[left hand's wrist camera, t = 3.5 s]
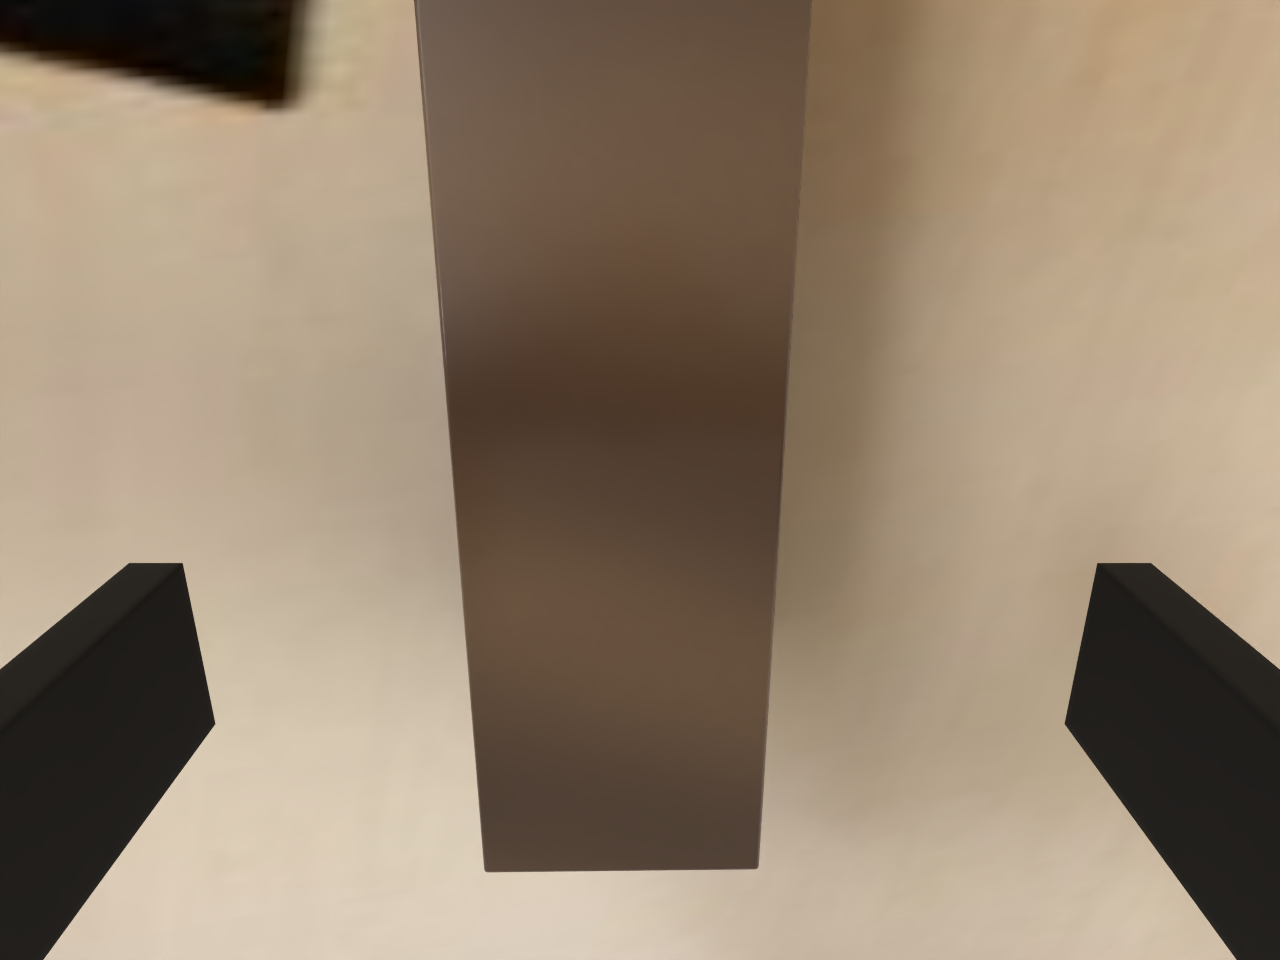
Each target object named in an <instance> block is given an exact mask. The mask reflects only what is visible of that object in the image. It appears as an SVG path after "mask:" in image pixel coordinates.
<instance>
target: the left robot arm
mask: <svg viewBox="0 0 1280 960" xmlns="http://www.w3.org/2000/svg"><path fill="white" fill-rule="evenodd" d="M214 725H215V720H214V715H213V710H212V705H211V700H210V695H209V691H208V686H207V681H206V676H205V671H204V666H203V661H202V656H201V651H200V646H199V641H198V637H197V632H196V627H195V622H194V617H193V612H192V607H191V602H190V597H189V592H188V588H187V583H186V578H185V573H184V568H183V563H129V564H128V565H126V566H125V567H124V568H123V569H122V570H120V571H119V572H118V573H117V574H115V575H114V576H113V577H112V578H111V579H109V580H108V581H107V582H106V583H105V584H103V585H102V586H101V587H100V588H98V589H97V590H96V591H95V592H94V593H92V594H91V595H90V596H89V597H88V598H86V599H85V600H84V601H83V602H82V603H80V604H79V605H78V606H77V607H75V608H74V609H73V610H72V611H71V612H69V613H68V614H67V615H66V616H65V617H63V618H62V619H61V620H60V621H58V622H57V623H56V624H55V625H54V626H52V627H51V628H50V629H49V630H48V631H46V632H45V633H44V634H43V635H41V636H40V637H39V638H38V639H37V640H35V641H34V642H33V643H32V644H31V645H29V646H28V647H27V648H26V649H25V650H23V651H22V652H21V653H20V654H18V655H17V656H16V657H15V658H14V659H12V660H11V661H10V662H9V663H8V664H6V665H5V666H4V667H3V668H1V669H0V960H43V959H44V958H45V957H46V955H47V954H48V953H49V951H50V950H51V948H52V947H53V946H54V944H55V943H56V942H57V940H58V939H59V938H60V936H61V935H62V933H63V932H64V931H65V929H66V928H67V927H68V925H69V924H70V922H71V921H72V920H73V918H74V917H75V916H76V914H77V913H78V911H79V910H80V909H81V907H82V906H83V905H84V903H85V902H86V900H87V899H88V898H89V896H90V895H91V894H92V892H93V891H94V890H95V888H96V887H97V885H98V884H99V883H100V881H101V880H102V879H103V877H104V876H105V874H106V873H107V872H108V870H109V869H110V868H111V866H112V865H113V863H114V862H115V861H116V859H117V858H118V857H119V855H120V854H121V853H122V851H123V850H124V848H125V847H126V846H127V844H128V843H129V842H130V840H131V839H132V837H133V836H134V835H135V833H136V832H137V831H138V829H139V828H140V826H141V825H142V824H143V822H144V821H145V820H146V818H147V817H148V816H149V814H150V813H151V811H152V810H153V809H154V807H155V806H156V805H157V803H158V802H159V800H160V799H161V798H162V796H163V795H164V794H165V792H166V791H167V789H168V788H169V787H170V785H171V784H172V783H173V781H174V780H175V779H176V777H177V776H178V774H179V773H180V772H181V770H182V769H183V768H184V766H185V765H186V763H187V762H188V761H189V759H190V758H191V757H192V755H193V754H194V752H195V751H196V750H197V748H198V747H199V746H200V744H201V743H202V742H203V740H204V739H205V737H206V736H207V735H208V733H209V732H210V731H211V729H212V728H213V726H214ZM1065 725H1066V726H1067V728H1068V729H1069V731H1070V732H1071V733H1072V735H1073V736H1074V737H1075V739H1076V740H1077V742H1078V743H1079V744H1080V746H1081V747H1082V748H1083V750H1084V751H1085V752H1086V754H1087V755H1088V757H1089V758H1090V759H1091V761H1092V762H1093V763H1094V765H1095V766H1096V768H1097V769H1098V770H1099V772H1100V773H1101V774H1102V776H1103V777H1104V779H1105V780H1106V781H1107V783H1108V784H1109V785H1110V787H1111V788H1112V789H1113V791H1114V792H1115V794H1116V795H1117V796H1118V798H1119V799H1120V800H1121V802H1122V803H1123V805H1124V806H1125V807H1126V809H1127V810H1128V811H1129V813H1130V814H1131V816H1132V817H1133V818H1134V820H1135V821H1136V822H1137V824H1138V825H1139V826H1140V828H1141V829H1142V831H1143V832H1144V833H1145V835H1146V836H1147V837H1148V839H1149V840H1150V842H1151V843H1152V844H1153V846H1154V847H1155V848H1156V850H1157V851H1158V853H1159V854H1160V855H1161V857H1162V858H1163V859H1164V861H1165V862H1166V863H1167V865H1168V866H1169V868H1170V869H1171V870H1172V872H1173V873H1174V874H1175V876H1176V877H1177V879H1178V880H1179V881H1180V883H1181V884H1182V885H1183V887H1184V888H1185V890H1186V891H1187V892H1188V894H1189V895H1190V896H1191V898H1192V899H1193V900H1194V902H1195V903H1196V905H1197V906H1198V907H1199V909H1200V910H1201V911H1202V913H1203V914H1204V916H1205V917H1206V918H1207V920H1208V921H1209V922H1210V924H1211V925H1212V927H1213V928H1214V929H1215V931H1216V932H1217V933H1218V935H1219V936H1220V938H1221V939H1222V940H1223V942H1224V943H1225V944H1226V946H1227V947H1228V948H1229V950H1230V951H1231V953H1232V954H1233V955H1234V957H1235V958H1236V959H1237V960H1280V669H1279V668H1277V667H1276V666H1275V665H1274V664H1272V663H1271V662H1270V661H1269V660H1268V659H1266V658H1265V657H1264V656H1263V655H1262V654H1260V653H1259V652H1258V651H1257V650H1255V649H1254V648H1253V647H1252V646H1251V645H1249V644H1248V643H1247V642H1246V641H1245V640H1243V639H1242V638H1241V637H1240V636H1239V635H1237V634H1236V633H1235V632H1234V631H1232V630H1231V629H1230V628H1229V627H1228V626H1226V625H1225V624H1224V623H1223V622H1222V621H1220V620H1219V619H1218V618H1217V617H1215V616H1214V615H1213V614H1212V613H1211V612H1209V611H1208V610H1207V609H1206V608H1205V607H1203V606H1202V605H1201V604H1200V603H1198V602H1197V601H1196V600H1195V599H1194V598H1192V597H1191V596H1190V595H1189V594H1188V593H1186V592H1185V591H1184V590H1183V589H1182V588H1180V587H1179V586H1178V585H1177V584H1175V583H1174V582H1173V581H1172V580H1171V579H1169V578H1168V577H1167V576H1166V575H1165V574H1163V573H1162V572H1161V571H1160V570H1158V569H1157V568H1156V567H1155V566H1154V565H1152V564H1151V563H1097V568H1096V573H1095V578H1094V583H1093V588H1092V592H1091V597H1090V602H1089V607H1088V612H1087V617H1086V622H1085V627H1084V632H1083V637H1082V641H1081V646H1080V651H1079V656H1078V661H1077V666H1076V671H1075V676H1074V681H1073V686H1072V691H1071V695H1070V700H1069V705H1068V710H1067V715H1066V720H1065Z"/></svg>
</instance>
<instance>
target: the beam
mask: <svg viewBox="0 0 1280 960" xmlns="http://www.w3.org/2000/svg"><path fill="white" fill-rule="evenodd" d="M414 4H415V16H416V29H417V41H418V54H419V66H420V78H421V91H422V103H423V116H424V128H425V140H426V153H427V165H428V178H429V190H430V202H431V215H432V227H433V240H434V252H435V264H436V277H437V289H438V302H439V314H440V326H441V339H442V351H443V364H444V376H445V388H446V401H447V413H448V426H449V438H450V450H451V463H452V475H453V488H454V500H455V512H456V525H457V537H458V550H459V562H460V574H461V587H462V599H463V612H464V624H465V636H466V649H467V661H468V674H469V686H470V698H471V711H472V723H473V736H474V748H475V760H476V773H477V785H478V798H479V810H480V822H481V835H482V847H483V860H484V869H485V872H554V871H641V870H729V869H757V868H758V866H759V853H760V837H761V821H762V804H763V788H764V772H765V756H766V739H767V723H768V707H769V690H770V674H771V658H772V642H773V625H774V609H775V593H776V577H777V560H778V544H779V528H780V511H781V495H782V479H783V463H784V446H785V430H786V414H787V397H788V381H789V365H790V349H791V332H792V316H793V300H794V284H795V267H796V251H797V235H798V218H799V202H800V186H801V170H802V153H803V137H804V121H805V105H806V88H807V72H808V56H809V39H810V23H811V7H812V0H414Z"/></svg>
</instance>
